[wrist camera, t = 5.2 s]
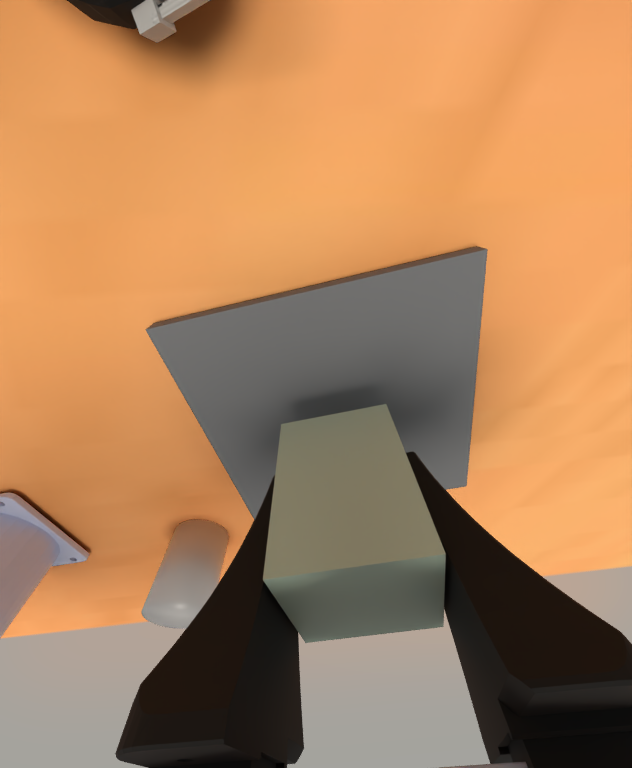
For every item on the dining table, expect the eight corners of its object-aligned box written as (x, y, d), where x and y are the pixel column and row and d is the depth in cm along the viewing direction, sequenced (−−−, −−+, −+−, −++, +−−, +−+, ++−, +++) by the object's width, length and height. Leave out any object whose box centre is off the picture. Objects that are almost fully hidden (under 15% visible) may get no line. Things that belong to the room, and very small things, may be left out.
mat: (256, 509, 20) (254, 520, 19) (153, 323, 13) (145, 329, 12) (460, 476, 19) (466, 486, 18) (476, 246, 11) (487, 249, 11)
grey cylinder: (189, 552, 23) (162, 631, 19) (164, 524, 21) (128, 605, 17) (236, 545, 22) (220, 624, 18) (216, 515, 20) (192, 596, 16)
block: (306, 490, 15) (305, 642, 10) (281, 424, 12) (262, 579, 7) (394, 475, 14) (443, 627, 9) (386, 403, 12) (445, 554, 7)
